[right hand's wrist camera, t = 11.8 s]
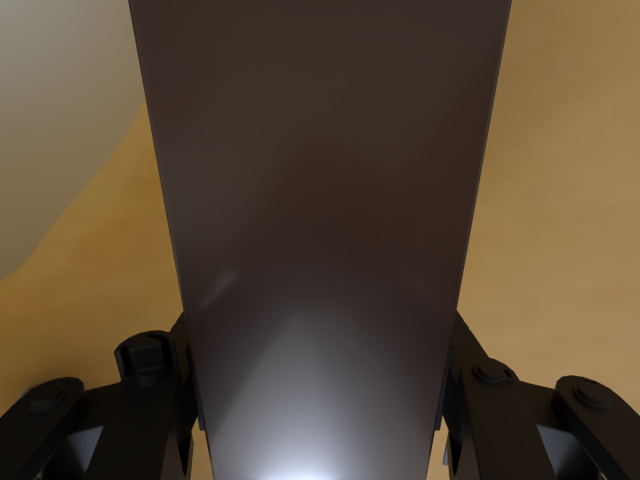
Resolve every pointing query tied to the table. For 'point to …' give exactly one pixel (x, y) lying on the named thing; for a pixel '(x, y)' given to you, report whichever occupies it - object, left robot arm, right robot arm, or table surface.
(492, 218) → the table surface
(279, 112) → the plank
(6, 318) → the table surface
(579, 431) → the right robot arm
